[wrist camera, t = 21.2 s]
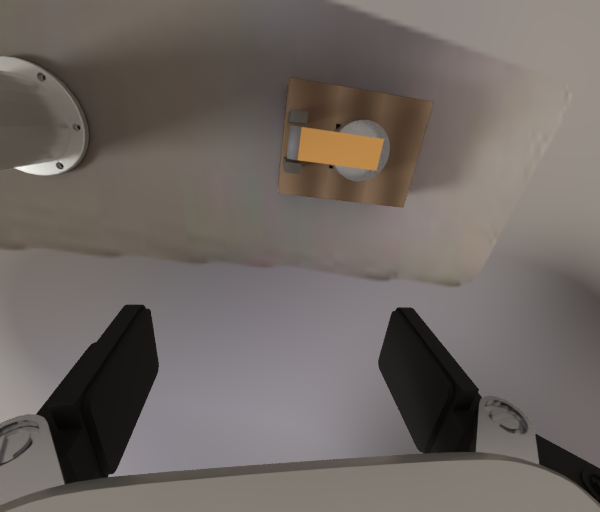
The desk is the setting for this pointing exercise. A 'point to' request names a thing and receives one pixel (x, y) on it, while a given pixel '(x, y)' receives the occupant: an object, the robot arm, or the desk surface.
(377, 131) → the silver rounded cylinder
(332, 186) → the hitch block
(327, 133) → the bar
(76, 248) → the desk surface
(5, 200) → the desk surface
